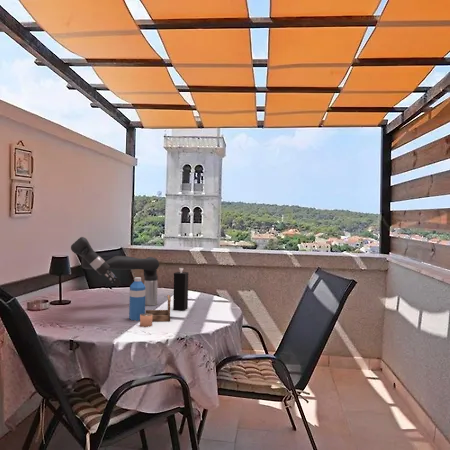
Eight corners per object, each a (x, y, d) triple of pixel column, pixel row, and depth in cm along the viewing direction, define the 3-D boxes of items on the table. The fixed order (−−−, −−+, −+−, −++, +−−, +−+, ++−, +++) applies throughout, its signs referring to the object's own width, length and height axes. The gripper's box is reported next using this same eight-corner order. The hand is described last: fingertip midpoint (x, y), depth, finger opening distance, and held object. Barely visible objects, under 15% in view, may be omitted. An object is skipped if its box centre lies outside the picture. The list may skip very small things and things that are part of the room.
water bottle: (144, 320, 254) (145, 278, 254) (128, 320, 253) (129, 278, 252) (145, 316, 263) (145, 276, 263) (129, 317, 262) (130, 276, 261)
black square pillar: (184, 311, 282) (185, 268, 281) (172, 310, 283) (173, 268, 282) (187, 308, 289) (188, 267, 288) (176, 307, 291) (177, 266, 290)
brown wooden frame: (145, 321, 252) (145, 300, 251) (145, 315, 266) (146, 295, 266) (170, 321, 254) (170, 299, 254) (169, 315, 269) (169, 295, 268)
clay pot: (137, 325, 243) (137, 315, 243) (145, 323, 249) (145, 312, 249) (146, 327, 239) (146, 316, 239) (154, 324, 245) (154, 314, 245)
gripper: (96, 268, 260) (115, 287, 263) (93, 271, 246) (113, 291, 248) (105, 259, 261) (124, 278, 263) (103, 262, 247) (123, 282, 249)
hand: (119, 284), depth 256 cm, fingers open, 8 cm apart
